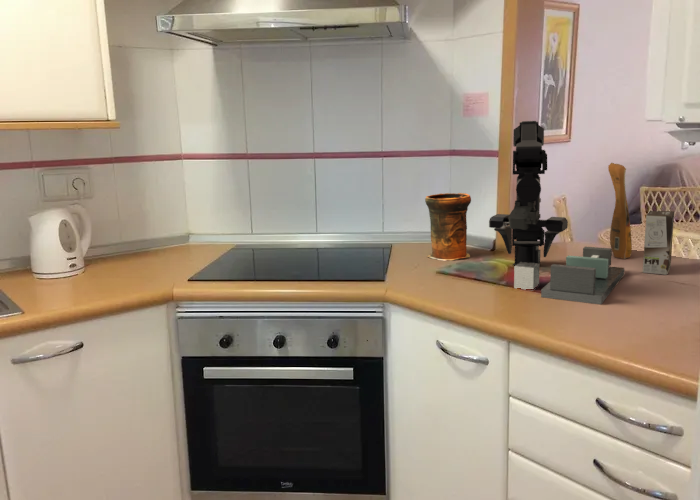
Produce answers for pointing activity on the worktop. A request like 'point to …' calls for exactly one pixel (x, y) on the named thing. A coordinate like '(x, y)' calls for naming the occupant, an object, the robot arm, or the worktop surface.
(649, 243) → the coffee box
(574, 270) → the press
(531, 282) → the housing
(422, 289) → the worktop surface
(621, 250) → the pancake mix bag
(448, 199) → the vessel
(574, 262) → the ram
